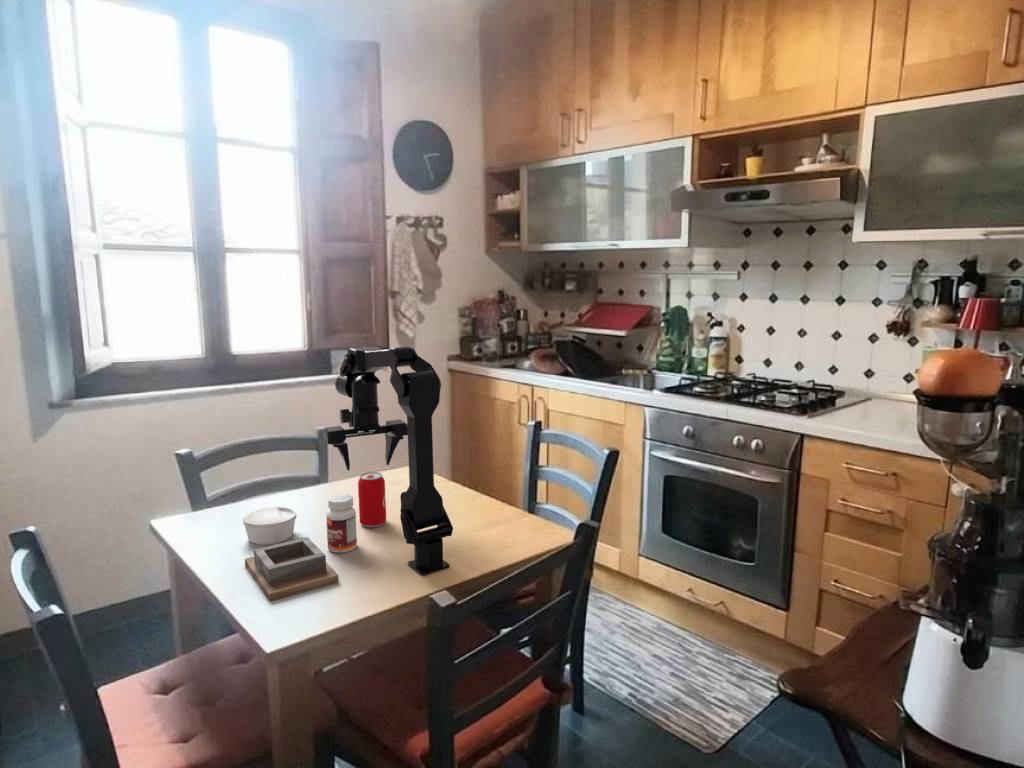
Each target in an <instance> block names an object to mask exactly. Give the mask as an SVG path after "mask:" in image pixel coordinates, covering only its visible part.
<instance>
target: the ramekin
mask: <svg viewBox="0 0 1024 768" xmlns="http://www.w3.org/2000/svg"><path fill="white" fill-rule="evenodd" d="M296 519H297V512H296V511H295V510H294V509H292V508H288V507H283V506H279V507H278V506H274V507H272V506H270V507H264V508H260V509H256V510H253V511H251V512H248V513H247V514H246V515H245V516H243V518H242V523H243V525H244V528H245V532H246V536H247V539H248V540H249V541H250V542H251V543H252V544H254V543H255V545H258V544H259V546H271V545H276V543H277V544H280V543H284V542H287V540H289V539H290V538H291V537H292V536H293V534H294V532H295V531H294V530H295V525H296V524H295V523H296ZM270 544H271V545H270Z"/></svg>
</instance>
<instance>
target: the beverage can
mask: <svg viewBox="0 0 1024 768" xmlns="http://www.w3.org/2000/svg"><path fill="white" fill-rule="evenodd" d="M357 487H358V488H357V490H358V512H359V513H358V514H359V515H358V516H359V523H360V525H362V526H364V528H378V527H380V526H382V525H384V524H385V523H386V521H387V506H386V505H387V503H386V502H387V501H386V498H387V497H386V480H385V478H384V477H383V474H382V473H381V472H376V471H371V472H364V473H362V474H360V475H359V479H358V481H357Z"/></svg>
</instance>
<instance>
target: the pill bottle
mask: <svg viewBox="0 0 1024 768" xmlns="http://www.w3.org/2000/svg"><path fill="white" fill-rule="evenodd" d="M327 501H328V505H327V506H328V510H327V511H326V516H325V518H326V536H327V537H326V538H327V549H328V550H329V551H330V552H332V553H335V554H336V553H338V554H342V553H343V554H344V553H347V552H350V551H353V550H354V549H356V547H357V546H358V545H357V543H358V542H357V539H358V538H357V518H356V517H357V514H356V509H355V508H354V498H353V496H352V495H350V494H334V495H332V496H330V497H328V500H327Z"/></svg>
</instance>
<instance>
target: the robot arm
mask: <svg viewBox="0 0 1024 768" xmlns="http://www.w3.org/2000/svg"><path fill="white" fill-rule="evenodd" d="M384 367H385V368H387V367H389V368H390V369H391V372H390V373H391V374H390V378H389V383H390V384H391V386H392V388H393V389H394V391H395V393H396V395H397V400H398V401H397V402H398V405H399V406H400V408H401V409H402V411H403V412H404V414H405V415H406V422H405V421H403V420H401V419H394V420H391V419H390V420H386V422H385V424H384V425H380V419H379V412H380V407H379V399H378V398H379V397H378V395H379V393H378V384H381V380H380V379H379V377H377V376H376V375H375V373H377V372H378V371H380V370H383V368H384ZM402 367H403V368H404V367H410V369H412V372H404V373H400V371H399V370H398V368H402ZM339 371H340V372H339V375H338V376H337V378H336V380H335V382H334V387H335V390H336V391H337V393H338V394H340V395H341V396H344V397H348V398H350V399H352V401H351V402H352V404H351V411H350V409H349V408H345V409H339V418H340V419H339V420H340V424H348V427H349V428H347V429H344V428H343V427H342V426H341V425H336V426H329V427H324V429H323V431H322V438H323V441H324V442H326V444H327V445H331V446H332V447H333V448H337V450H338V452H339V454H340V456H341V459H342V461H343V463H344V466H345V468H346V470H347V472H348V471H350V468H351V465H350V464H351V463H350V455H349V454H350V453H349V447H348V443H347V442H346V439H347V438H354V437H362V436H363V437H364V436H372V435H373V436H374V435H381V434H384V437H385V454H384V455H385V456H384V457H385V465H386V466H389V465H390V463H391V460H392V457H393V455H394V452H395V450H396V448H397V446H398V444H399V443H400V441H401V440H404V437H405V436H407V449H408V450H407V451H408V454H407V455H408V476H409V477H408V478H409V480H408V481H409V485H408V488H407V490H406V491H403V492H402V491H401V494H400V496H399V499H400V516H399V517H400V523H401V528H402V533H403V537H404V540H405V542H406V543H405V544H407V545H413V547H414V550H413V551H414V553H413V554H414V555H413V556H414V559H413V560H410V561H407V564H408V566H409V567H411V568H412V569H413V570H415V571H416V572H417V573H418V574H420V575H421V576H425V575H429V574H432V573H435V572H439V571H442V570H446V569H448V568H450V567H451V564H449V563H448V561H445V560H444V546H443V545H444V542H443V538H446V537H451V536H452V535H453V531H454V526H453V525H452V522H451V519H450V518H449V516H448V513H447V511H446V509H445V507H444V502H443V497H442V495H441V494H440V493H439V491H438V490H437V488H436V486H435V480H434V479H435V473H434V471H435V470H434V445H433V442H434V441H433V437H434V436H433V416H434V415H433V414H434V413H435V411H436V409H437V408H438V405H439V404H440V397H441V389H442V382H441V379H440V377H439V375H438V373H437V372H436V370H435V369H434V367H433V366H432V364H431V363H429V362H428V361H426V360H425V359H423V358H422V357H421V356H419V355H418V353H417V352H416V351H415V348H413V347H410V346H399V347H396V346H395V347H391V348H390V349H382V348H381V347H378V346H363V347H362V346H361V347H350V348H348V349H347V351H346V354H345V355H344V358H343V361H342V364H341V365H340V368H339ZM413 371H414V372H413ZM434 526H436V527H434ZM430 527H431V528H430ZM427 528H428V529H427ZM423 529H425V530H423ZM420 530H421V531H420Z"/></svg>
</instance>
